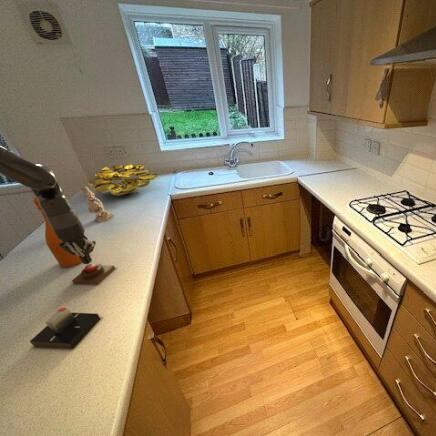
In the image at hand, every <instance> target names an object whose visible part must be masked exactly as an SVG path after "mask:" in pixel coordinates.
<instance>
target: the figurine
mask: <svg viewBox="0 0 436 436" xmlns="http://www.w3.org/2000/svg"><path fill="white" fill-rule="evenodd" d="M81 191H82V193H83V194H84V198H85V199H86V200H87V206H86V207H87V210H88V212H89V213H90V214H91V213H92V214H94V213H95V220H96V222H98V223H102V222H103V223H104V222H107V221H108V220H110V219H111V218H112V217H113V213H110V212H109V211H108V210H106V209H104V205H103V202H102V201H100V199H98V198H97V197H96V195H95V193H94V192H92V191H91V190H90V188H89V187H88V186H83V187H81Z"/></svg>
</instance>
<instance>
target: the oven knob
mask: <svg viewBox="0 0 436 436" xmlns="http://www.w3.org/2000/svg"><path fill="white" fill-rule="evenodd" d="M71 313H72V312H71V311H70V309H69V307H60V308H58V309H57V311H56V312H55V313H53V314H52V315H51V316H50V317H49V318H47V319H46V320H45V321H44V323H45V324H46V326H47V325H48V327H49V328H50V329H51V330H52V332H53V333H54V334H61V333H62V332H63V331H64V330H65V329H66V328H67V327H69V326H70V325H71V324H72V323H73V322H74V321H75V318H74V317H73V315H72V314H71Z"/></svg>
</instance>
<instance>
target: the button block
mask: <svg viewBox="0 0 436 436" xmlns="http://www.w3.org/2000/svg"><path fill="white" fill-rule="evenodd" d="M95 264H96V266H97V269H96V270H95V271H93V272H90V273H86V271H85V269H84V268H83V269H81V272H80V273H79V274H78V275H77V276H75V277H74V278H73V279H71V282H72V284H73V285H100V283H102V282H103V281H104V280H105V279H106V278H107V277H108V276H109V275H110V274H111V273H112V272H114V271H115V270H116V267H115V265H109V264H108V265H107V264H106V265H105V264H101V263H95Z"/></svg>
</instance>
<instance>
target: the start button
mask: <svg viewBox="0 0 436 436" xmlns="http://www.w3.org/2000/svg"><path fill="white" fill-rule="evenodd" d="M96 264H97V263H89V264H86V266H84V268H83V269H85V271H86V273H90V272H93V271H95V270H96V269H97V266H96Z"/></svg>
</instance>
